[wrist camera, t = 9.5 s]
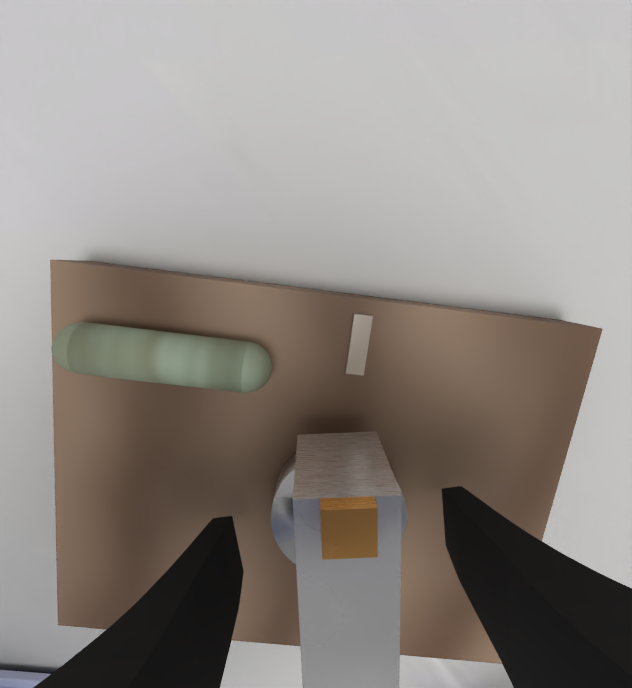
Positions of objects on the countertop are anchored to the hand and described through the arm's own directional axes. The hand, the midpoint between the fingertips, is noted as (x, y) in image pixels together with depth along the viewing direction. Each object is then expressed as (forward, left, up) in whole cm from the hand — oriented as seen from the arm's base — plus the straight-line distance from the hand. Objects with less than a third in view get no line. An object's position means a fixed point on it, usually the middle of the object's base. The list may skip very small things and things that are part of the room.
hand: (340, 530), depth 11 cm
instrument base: (-1, 0, -4) cm, 4 cm away
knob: (0, 0, -2) cm, 2 cm away
